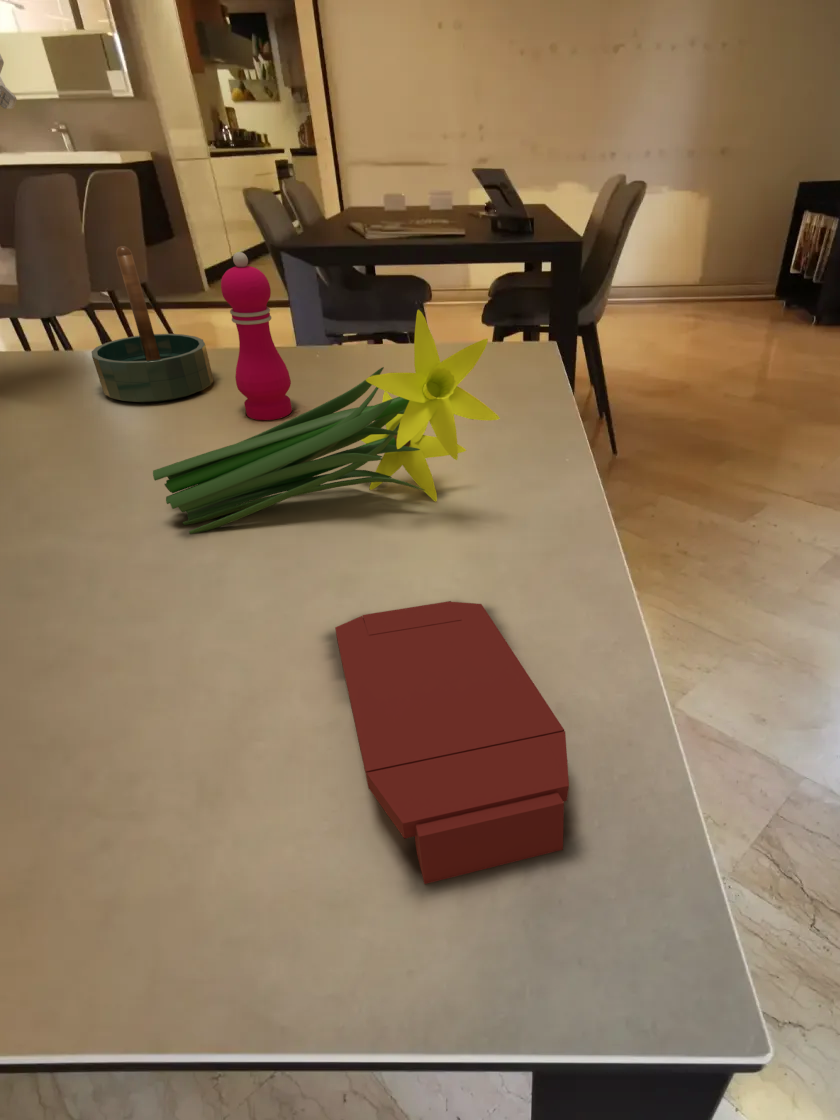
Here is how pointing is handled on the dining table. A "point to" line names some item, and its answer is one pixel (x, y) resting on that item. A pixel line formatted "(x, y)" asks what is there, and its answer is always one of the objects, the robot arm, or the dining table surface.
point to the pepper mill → (256, 343)
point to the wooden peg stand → (137, 302)
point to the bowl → (153, 368)
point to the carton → (455, 737)
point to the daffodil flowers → (337, 441)
